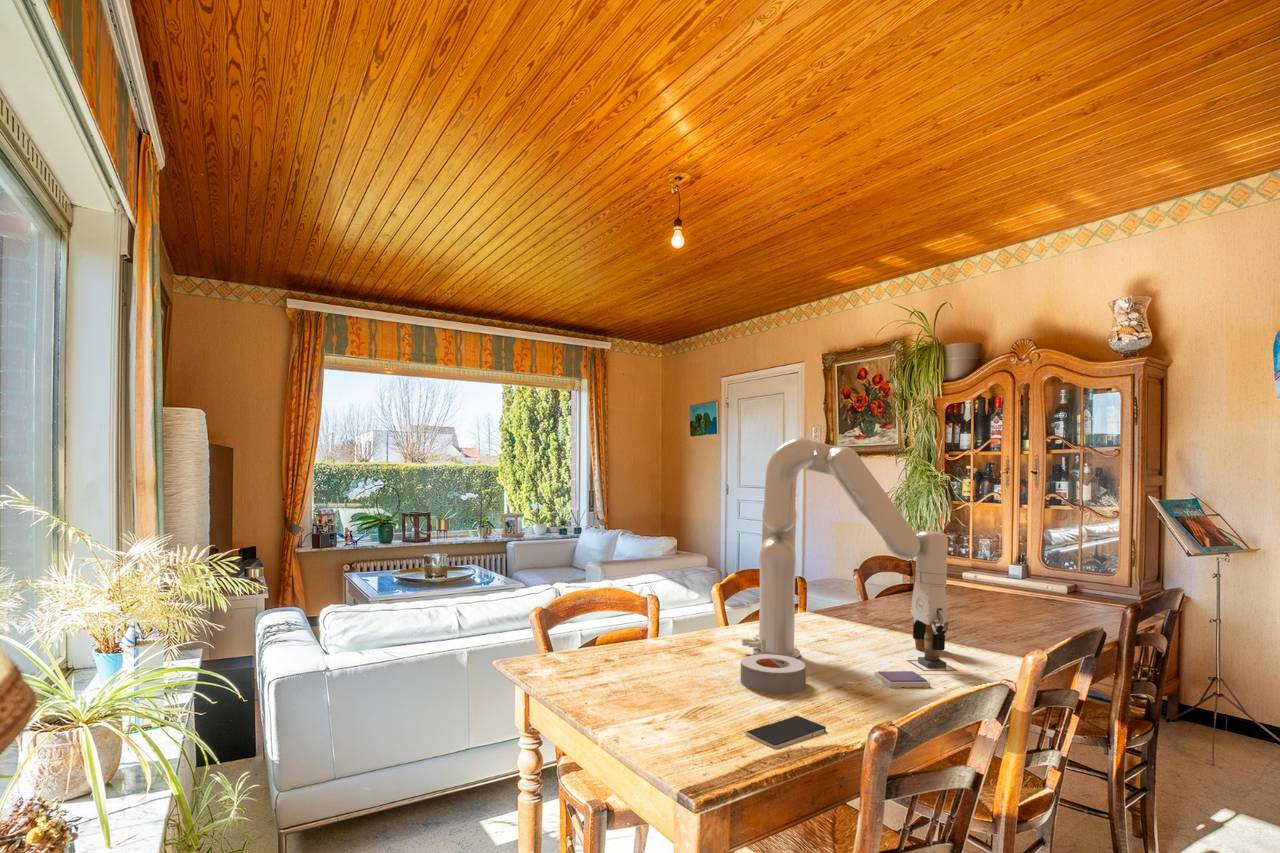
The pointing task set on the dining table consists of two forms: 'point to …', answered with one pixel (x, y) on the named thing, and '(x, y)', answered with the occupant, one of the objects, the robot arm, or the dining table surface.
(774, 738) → the smartphone
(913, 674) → the ink pad
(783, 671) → the tape roll
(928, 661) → the stamp
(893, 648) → the dining table surface
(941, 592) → the robot arm
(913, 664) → the sheet
